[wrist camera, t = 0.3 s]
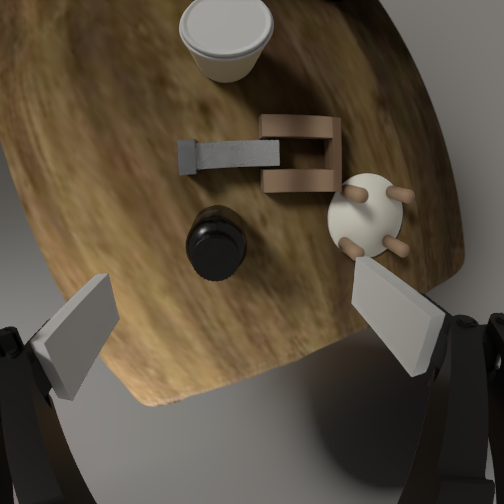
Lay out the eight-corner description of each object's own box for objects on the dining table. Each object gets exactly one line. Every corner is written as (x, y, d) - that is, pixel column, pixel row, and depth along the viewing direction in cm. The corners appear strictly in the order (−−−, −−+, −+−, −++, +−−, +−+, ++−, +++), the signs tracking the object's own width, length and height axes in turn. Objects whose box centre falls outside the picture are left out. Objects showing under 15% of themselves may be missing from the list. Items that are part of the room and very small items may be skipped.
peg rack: (309, 217, 39) (322, 227, 33) (368, 155, 36) (388, 156, 31) (361, 272, 42) (377, 287, 37) (412, 216, 40) (433, 224, 35)
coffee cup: (272, 48, 30) (290, 8, 19) (240, 99, 33) (247, 72, 21) (213, 23, 28) (209, -22, 17) (179, 73, 31) (160, 39, 19)
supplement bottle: (190, 248, 39) (176, 285, 27) (197, 200, 37) (183, 218, 25) (238, 256, 40) (243, 295, 28) (247, 209, 38) (256, 230, 26)
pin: (184, 173, 35) (179, 175, 31) (182, 142, 34) (177, 140, 30) (275, 169, 36) (281, 169, 32) (274, 138, 35) (280, 135, 31)
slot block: (260, 189, 37) (263, 192, 34) (258, 118, 34) (261, 114, 31) (332, 188, 38) (341, 191, 34) (331, 120, 34) (340, 117, 31)
